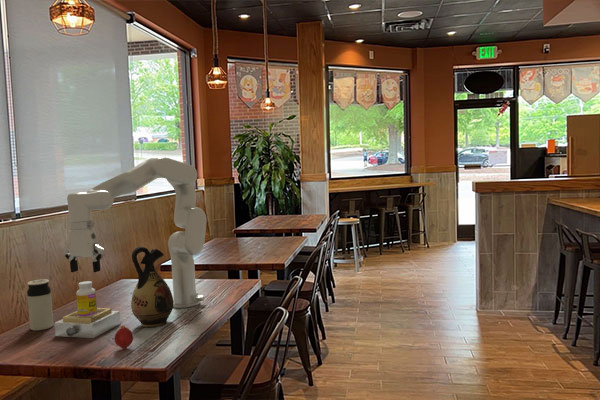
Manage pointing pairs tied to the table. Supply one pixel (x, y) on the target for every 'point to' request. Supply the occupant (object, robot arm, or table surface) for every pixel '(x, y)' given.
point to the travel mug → (40, 305)
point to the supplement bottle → (86, 300)
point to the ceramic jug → (150, 291)
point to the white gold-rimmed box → (87, 324)
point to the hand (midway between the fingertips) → (85, 271)
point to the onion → (123, 337)
